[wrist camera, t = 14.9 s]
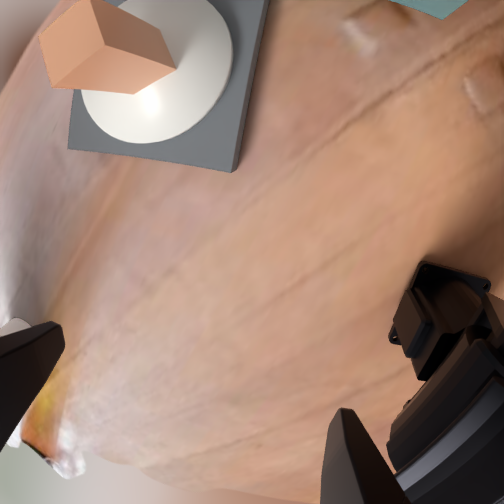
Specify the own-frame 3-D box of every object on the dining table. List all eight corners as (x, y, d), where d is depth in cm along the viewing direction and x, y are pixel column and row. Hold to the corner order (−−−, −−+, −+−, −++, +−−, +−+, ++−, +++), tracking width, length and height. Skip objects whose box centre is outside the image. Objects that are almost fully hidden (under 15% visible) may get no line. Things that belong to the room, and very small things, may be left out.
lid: (198, -33, 13) (141, -95, 6) (261, 98, 16) (225, 76, 9) (72, 47, 16) (-12, 34, 9) (116, 169, 19) (30, 196, 12)
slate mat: (271, -10, 15) (268, -19, 13) (236, 169, 19) (230, 172, 18) (107, -5, 16) (96, -10, 14) (80, 146, 20) (67, 148, 19)
